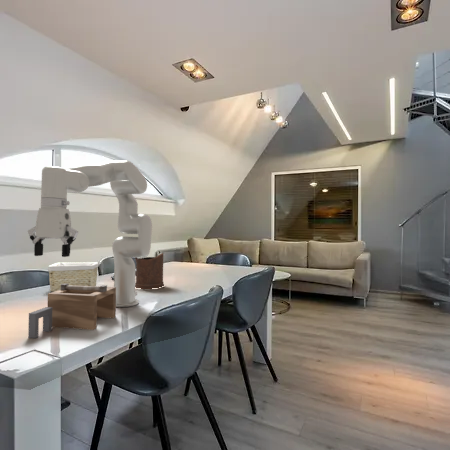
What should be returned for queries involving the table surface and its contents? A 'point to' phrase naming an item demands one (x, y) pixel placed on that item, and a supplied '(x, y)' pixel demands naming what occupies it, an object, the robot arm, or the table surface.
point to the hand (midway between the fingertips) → (52, 256)
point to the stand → (81, 306)
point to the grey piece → (34, 321)
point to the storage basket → (72, 274)
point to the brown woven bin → (149, 272)
